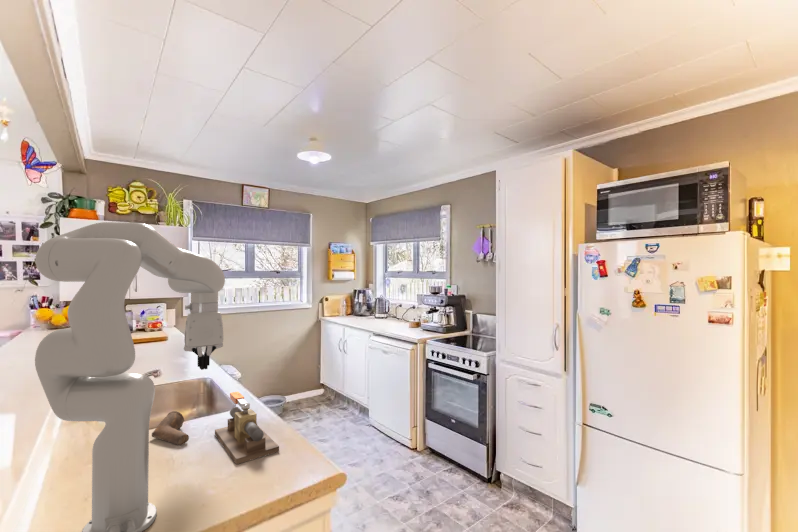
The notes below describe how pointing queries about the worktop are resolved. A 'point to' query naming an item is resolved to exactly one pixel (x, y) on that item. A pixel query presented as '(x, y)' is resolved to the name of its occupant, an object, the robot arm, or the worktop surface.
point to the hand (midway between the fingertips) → (203, 368)
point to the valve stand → (245, 437)
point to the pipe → (171, 429)
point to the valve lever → (239, 400)
